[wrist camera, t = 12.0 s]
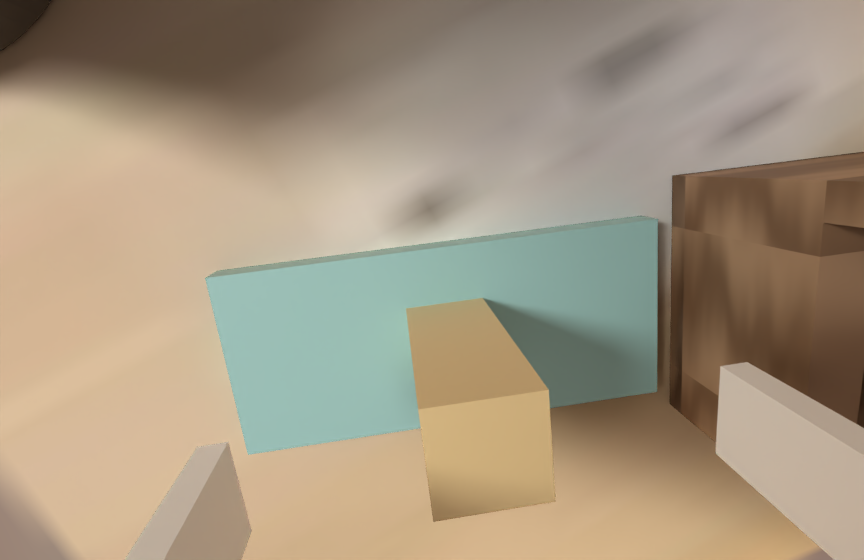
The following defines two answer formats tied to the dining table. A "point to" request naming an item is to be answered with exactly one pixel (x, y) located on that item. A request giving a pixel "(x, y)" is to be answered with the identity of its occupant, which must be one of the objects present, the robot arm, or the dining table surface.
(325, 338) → the cover plate
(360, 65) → the dining table surface
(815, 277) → the walnut box
